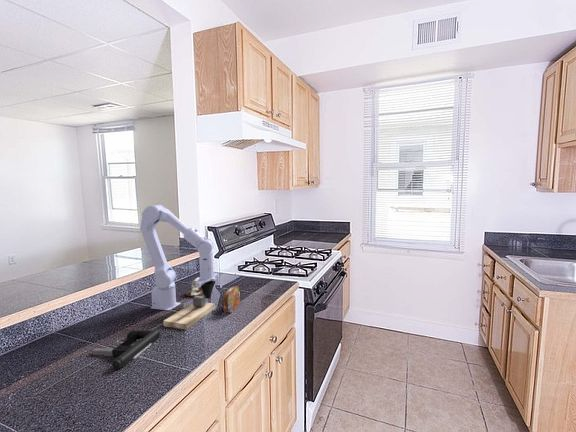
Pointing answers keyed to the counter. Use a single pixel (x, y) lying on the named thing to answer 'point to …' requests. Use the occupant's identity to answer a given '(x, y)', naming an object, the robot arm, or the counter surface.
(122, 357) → the door handle
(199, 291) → the skull
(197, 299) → the fader knob
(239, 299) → the tin
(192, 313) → the slider board
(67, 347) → the counter surface
